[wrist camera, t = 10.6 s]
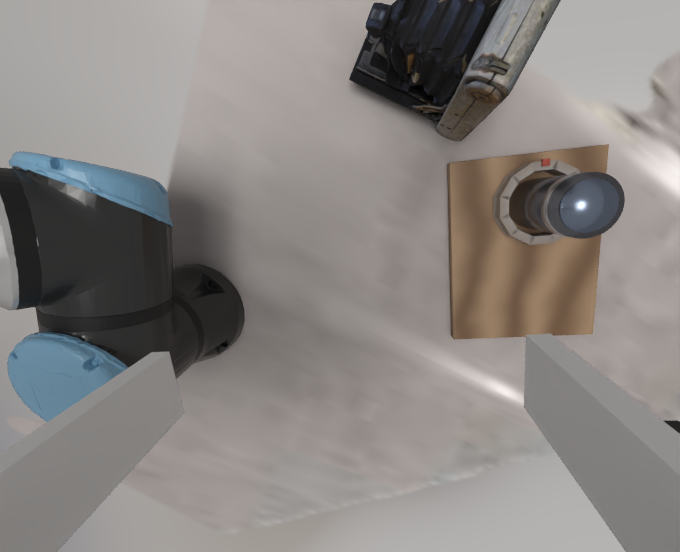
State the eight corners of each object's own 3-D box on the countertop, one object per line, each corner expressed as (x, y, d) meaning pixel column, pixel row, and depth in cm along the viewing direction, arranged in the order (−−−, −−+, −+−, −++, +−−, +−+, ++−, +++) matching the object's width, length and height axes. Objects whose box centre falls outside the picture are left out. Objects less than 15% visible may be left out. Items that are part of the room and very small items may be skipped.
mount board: (451, 334, 46) (458, 348, 42) (447, 164, 41) (454, 160, 37) (585, 329, 44) (607, 343, 39) (600, 146, 38) (626, 139, 34)
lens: (506, 230, 41) (551, 242, 30) (507, 181, 39) (554, 175, 28) (558, 225, 40) (623, 236, 29) (560, 175, 38) (630, 166, 27)
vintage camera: (384, 15, 38) (373, -167, 19) (500, 66, 38) (608, -71, 19) (351, 96, 41) (313, 6, 22) (458, 146, 40) (515, 97, 21)
